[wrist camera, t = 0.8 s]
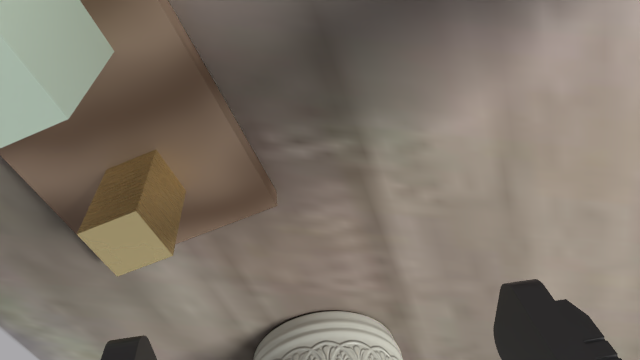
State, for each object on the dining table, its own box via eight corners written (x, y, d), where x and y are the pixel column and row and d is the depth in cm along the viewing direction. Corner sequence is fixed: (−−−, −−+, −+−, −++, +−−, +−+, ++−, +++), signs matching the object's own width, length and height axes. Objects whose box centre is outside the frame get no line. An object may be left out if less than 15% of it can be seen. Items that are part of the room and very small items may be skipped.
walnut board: (-157, -41, 21) (-182, -34, 20) (76, -161, 20) (64, -161, 19) (115, 253, 33) (109, 269, 31) (276, 191, 31) (277, 205, 30)
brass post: (106, 169, 27) (76, 234, 23) (156, 149, 27) (135, 211, 22) (138, 209, 29) (117, 276, 25) (186, 191, 29) (172, 255, 24)
